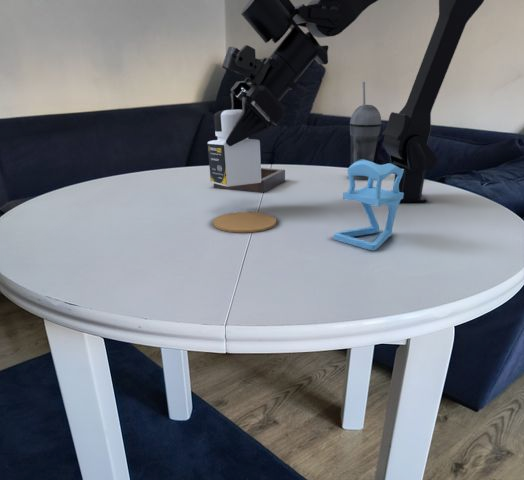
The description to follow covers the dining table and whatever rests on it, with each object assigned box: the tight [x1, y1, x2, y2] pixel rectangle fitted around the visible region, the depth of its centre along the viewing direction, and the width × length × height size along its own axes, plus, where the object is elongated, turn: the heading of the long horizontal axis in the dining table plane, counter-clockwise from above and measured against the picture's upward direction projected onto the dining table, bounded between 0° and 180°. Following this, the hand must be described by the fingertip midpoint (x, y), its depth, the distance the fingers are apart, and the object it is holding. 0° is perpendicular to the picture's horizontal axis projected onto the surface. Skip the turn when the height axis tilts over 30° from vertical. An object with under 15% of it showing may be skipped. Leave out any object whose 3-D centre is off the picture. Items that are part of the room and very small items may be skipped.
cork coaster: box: [212, 211, 277, 234], centre depth 84 cm, size 11×11×1 cm
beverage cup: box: [348, 81, 383, 181], centre depth 110 cm, size 7×7×20 cm
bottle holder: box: [213, 167, 286, 193], centre depth 109 cm, size 12×12×2 cm
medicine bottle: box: [207, 109, 262, 187], centre depth 86 cm, size 7×7×12 cm
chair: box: [333, 159, 404, 252], centre depth 73 cm, size 8×8×12 cm
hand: (224, 141), depth 84 cm, fingers closed on medicine bottle, 7 cm apart
